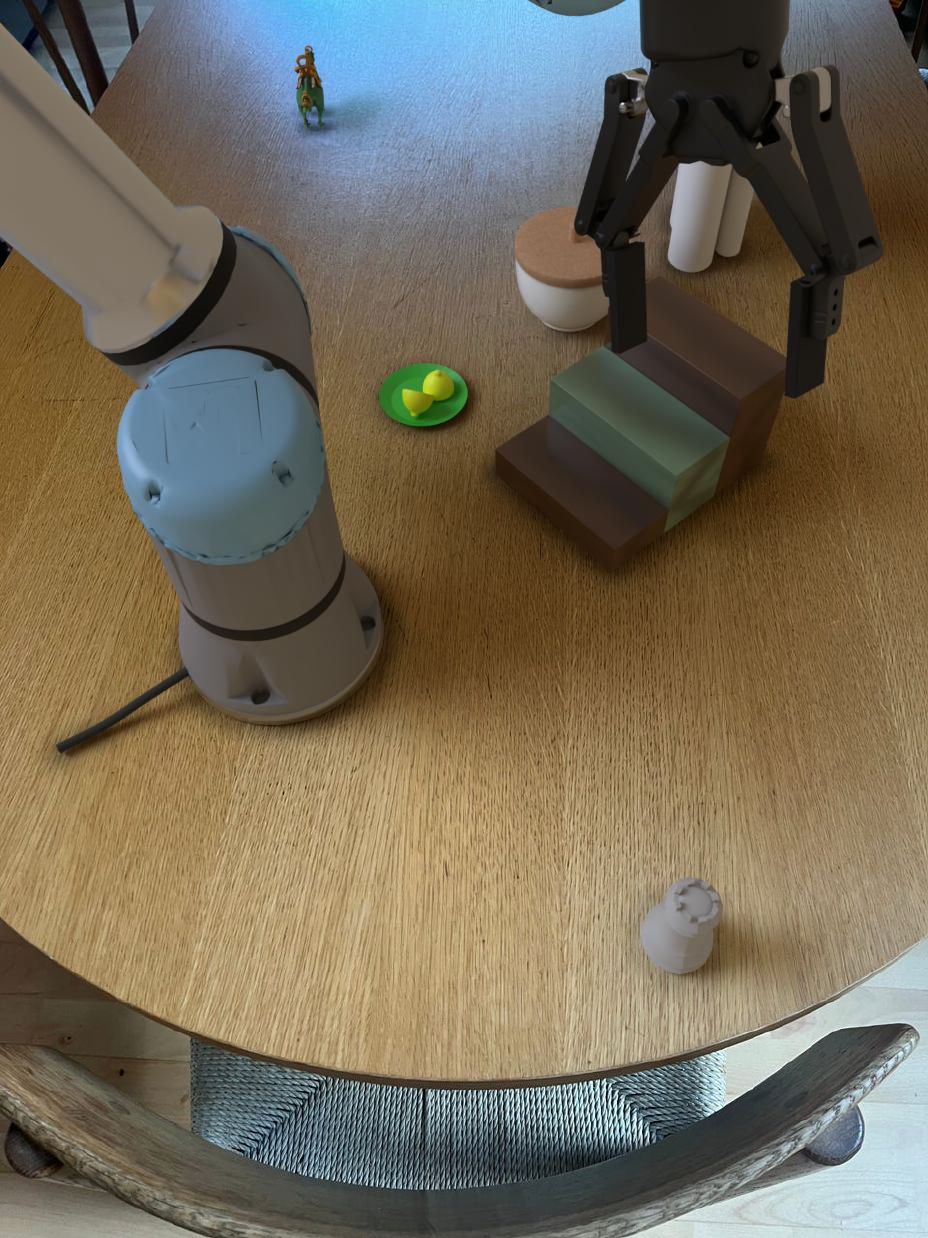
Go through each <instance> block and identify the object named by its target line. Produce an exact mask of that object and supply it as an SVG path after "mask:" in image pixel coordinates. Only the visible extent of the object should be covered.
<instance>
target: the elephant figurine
mask: <svg viewBox="0 0 928 1238" xmlns="http://www.w3.org/2000/svg"><path fill="white" fill-rule="evenodd" d="M313 50H314V48H313V46H311V45H310V44H307V45H305V46H304V54H300V55H298V56H297V57H296V59H295V63H296V64H297V66H295V67H294V72H295V73H296V74H297V75H298V74H299V75H298V76H297V83H296V88H295V89H296V92H295V93H296V95H295V98H296V104H297V108H298V109H299V110H298V111H299V113H300V114H301V116H302V118H303V126H304V127H305V128H306V130H309V127H310V126H311V125H312V122H309V119H308V118H307V113H312V111H313V108H315V109H316V112H317V119H318V121H317V125H318V128H319V130H321V129H322V127H325V125H326V122H323V121H322V117H323V113H324V111H326V108H325V94H324V87H323V85H322V83H323V80H322V78H321V77H320V76H319V73H318V70H317V66H316V65H315V61H316V59H315V52H314V51H313ZM301 60H305V63H303V64H301V62H300V61H301Z"/></svg>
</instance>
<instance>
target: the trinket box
mask: <svg viewBox="0 0 928 1238" xmlns="http://www.w3.org/2000/svg"><path fill="white" fill-rule="evenodd" d="M577 210H578V206H577V205H576V206H575V205H574V206H559V207H554V208H550V209H546V210H544V211H541V212H539V213H537V214H535V215H532V216H531V217H530V218H528V219H527V220H526V221H525V222H524V223H523V224H522V225H521V226H520V227H519V228H518V231H517V232H516V235H515V238H514V256H515V274H516V281H517V286H518V290H519V293H520V296H521V298H522V300H523V302H524V304H525V305H526V307H527V309H529V311H530V312H531V313H532V314H533V315H534V316H535V317H537V318H538V319H539V320H540V321H541V323H543V324H544V325H545V326H547V327H548V328H550V329H553V330H555V331H559V332H566V333H574V332H580V331H584V330H587V329H589V328H591V327H592V326H594V325H595V324H597V322H598V321H600V320H602V319H604V318H605V317H607V313H608V306H609V297H605V295H604V292H603V287H602V280H603V279H602V268H601V251H600V249H599V248H598V247H597V245H596V243H595V240H594V239H592V238H591V237H589V236H588V235H584V236H580V235H578V234H577V233H576V231H575V229H574V220H575V217H576V213H577ZM632 242H634V238H632V239H629V244H630V243H632Z"/></svg>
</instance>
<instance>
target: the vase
mask: <svg viewBox="0 0 928 1238" xmlns="http://www.w3.org/2000/svg"><path fill="white" fill-rule="evenodd" d="M761 147H762V145H761V143H760V142H759V144H758V146H757V147H756V149H758V148H761ZM676 175H677V176H676V181H675V187H674V194H673V200H672V206H671V212H670V219H669V225H670V228H671V232H670V239H669V240H670V241H669V244H668V245H669V246H668V251H667V259H668V262H669V263H670V265H672V266H673V267H674V268H675V269H677V270H679V271H682V272H685V273H699V272H703V271H704V270H705V269H706V270H707V268H709V267H710V266H711V264H712V262H713V258H714V253H715V252H716V253H717V254H718V255H720V256H722V257H726V258H731V257H735V256H737V255H738V254H739V253H740V252H741V251H740V250H741V246H742V243H743V239H744V238H743V237H744V234H745V230H746V226H747V222H748V218H749V214H750V209H751V206H752V205H751V204H752V200H753V197H754V192H755V191H754V189H753V188H752V186H751V184H750V182H749V181H748V180H747V179H746V178H743V177H741V176H739V175H738V174H737V173H736V171H735V170H734V168H733V166H732V165H731V164H729V165H726V166H723V167H722V166H711V165H709V164H707V163H704V162H702V161H698V162H695V163H692V164H680V163H679V165H678V169H677V174H676Z"/></svg>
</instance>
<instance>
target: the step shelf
mask: <svg viewBox="0 0 928 1238" xmlns="http://www.w3.org/2000/svg"><path fill="white" fill-rule="evenodd" d="M646 309H647V342H645V343H642V344H640V345H638V346H636V347H634V348H632V349H629V350H627V351H625V352H623V353H621V354H618V353H614V352H612V351H611V331H610V311H609V306H608V313H607V315H606V323H605V332H604V340H603V345H601V346H600V347H599V348H597V349H595V350H594V351H592V352H590V353H589V354H588V355H585V357H583V358H581V359H580V360H578V361H576V362H575V363H573V364H572V365H570V366H569V367H567V368H566V369H564V370H563V371H561V372H559V373H557V374H556V375H554V376H552V377H551V378H550V382H549V383H550V384H549V385H550V386H549V399H548V400H549V402H548V414H547V415H544V417H542V418H540V419H539V420H537V421H536V422H534V423H533V424H531V425H530V426H528V427H526V428H525V429H524V430H522V431H521V432H519V433H518V434H516V435H515V436H513V437H511V438H510V439H507V440H506V441H505V442H504V443H502V444H500V445H499V446H497V447H495V448H494V474H495V475H496V476H498V477H499V478H500V479H501V480H502V481H503V482H504V483H506V484H507V485H508V486H509V487H510V488H511V489H513V490H514V491H515V492H516V493H517V494H519V496H520V497H522V498H523V499H524V500H525V501H527V502H528V503H529V504H530V505H531V506H533V508H535V509H536V510H537V511H538V512H539V513H541V514H542V515H543V516H544V517H546V519H548V521H550V522H551V523H552V524H553V525H555V526H556V528H558V529H559V530H560V531H561V532H562V533H564V534H565V536H567V537H568V538H569V539H571V541H573V542H574V543H575V544H577V545H578V546H579V547H580V548H581V549H582V550H584V551H585V552H586V553H587V554H588V555H589V556H590V557H592V559H594V560H595V561H596V562H597V563H598V564H599V565H601V566H602V567H603V568H604V569H605V570H607V571H608V572H609V573H610V574H612V573H613V572H614V571H616V570H617V569H619V568H620V567H621V566H623V565H624V564H625V563H626V562H628V561H629V560H630V559H632V558H633V557H634V556H636V555H637V554H639V553H640V552H641V551H642V550H644V549H645V548H647V547H648V546H649V545H650V544H652V543H653V542H655V541H656V540H657V539H659V538H660V537H661V536H662V535H665V533H667V532H668V531H669V530H671V529H672V528H673V527H675V526H677V524H679V523H680V522H682V521H683V520H684V519H685V518H687V517H688V516H689V515H691V514H693V513H694V512H695V511H697V510H698V509H699V508H700V507H702V506H703V505H704V504H706V503H707V502H708V501H710V500H711V499H713V497H715V496H716V495H717V494H719V493H720V492H722V491H723V490H725V489H726V488H727V487H728V486H730V485H732V483H734V482H735V481H736V480H738V479H740V477H742V476H743V475H744V474H746V473H747V472H749V471H750V470H752V469H753V468H754V467H755V466H757V465H758V464H760V463H761V462H762V461H763V458H764V455H765V452H766V449H767V445H768V443H769V440H770V436H771V434H772V431H773V428H774V424H775V422H776V418H777V416H778V412H779V409H780V407H781V404H782V400H783V397H784V393H785V374H786V356H787V355H784V354H782V353H781V352H780V351H778V350H776V349H775V348H774V347H772V346H770V345H769V344H768V343H766V342H764V341H763V340H761V339H760V338H758V337H757V336H756V335H754V334H752V333H750V332H749V331H748V330H746V329H744V328H743V327H742V326H740V325H738V324H737V323H735V322H734V321H732V320H731V319H729V318H728V317H726V316H724V315H723V314H721V313H720V312H718V311H717V310H715V309H714V308H712V307H711V306H709V305H707V304H706V303H705V302H703V301H702V300H700V299H699V298H697V297H695V296H694V295H693V294H691V293H690V292H688V291H686V289H683V288H682V287H681V286H679V285H677V284H675V283H674V282H673V281H671V280H670V279H668V278H667V277H666V276H664V275H662V274H658V275H656V276H655V277H654V278H652V279H650V280H648V281H646Z"/></svg>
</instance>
